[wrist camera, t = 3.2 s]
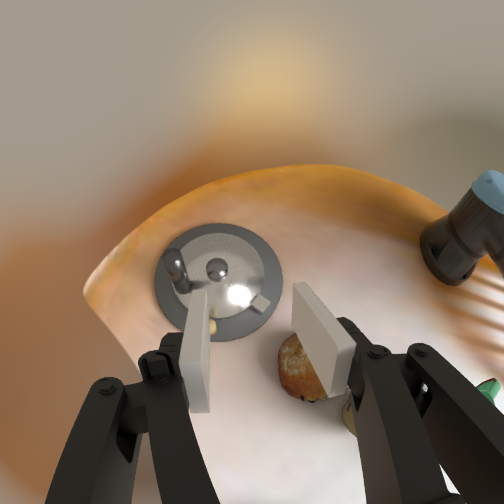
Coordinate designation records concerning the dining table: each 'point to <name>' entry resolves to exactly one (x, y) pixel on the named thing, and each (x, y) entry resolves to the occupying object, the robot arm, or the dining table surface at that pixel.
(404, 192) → the dining table surface
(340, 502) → the dining table surface
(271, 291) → the base pad
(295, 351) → the bread roll
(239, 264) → the flange plate
